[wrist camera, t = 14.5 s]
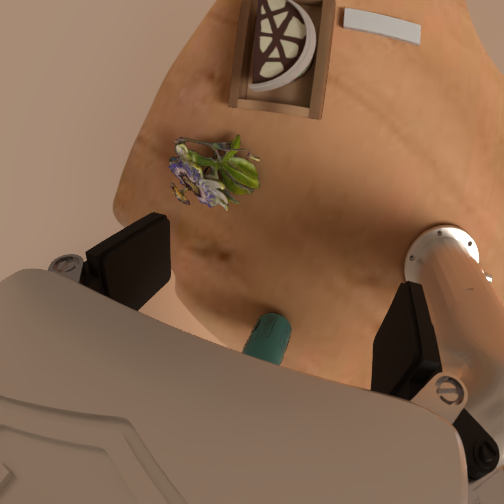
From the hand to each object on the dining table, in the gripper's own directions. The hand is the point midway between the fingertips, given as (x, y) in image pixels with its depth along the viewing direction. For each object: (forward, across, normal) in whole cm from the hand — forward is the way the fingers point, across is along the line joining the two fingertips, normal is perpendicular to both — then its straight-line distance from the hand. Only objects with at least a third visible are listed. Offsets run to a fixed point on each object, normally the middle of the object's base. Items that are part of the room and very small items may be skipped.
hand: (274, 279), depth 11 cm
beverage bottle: (+30, +3, +29) cm, 42 cm away
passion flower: (+30, +16, +3) cm, 34 cm away
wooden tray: (+30, +8, -14) cm, 34 cm away
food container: (+29, +6, -14) cm, 33 cm away
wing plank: (+31, -4, -20) cm, 37 cm away
